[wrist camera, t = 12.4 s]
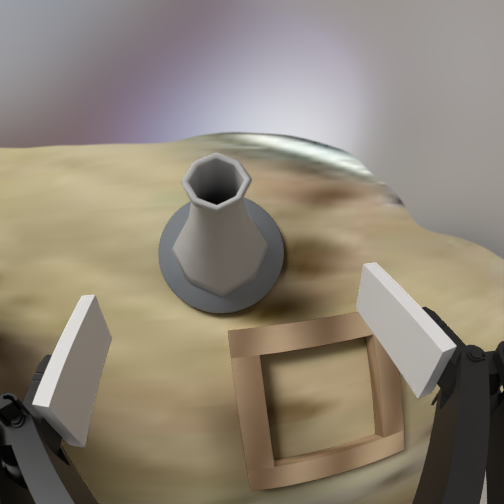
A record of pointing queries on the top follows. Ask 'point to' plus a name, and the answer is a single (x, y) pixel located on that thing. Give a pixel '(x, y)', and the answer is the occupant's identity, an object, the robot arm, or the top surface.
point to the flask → (218, 227)
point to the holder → (255, 412)
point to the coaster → (238, 297)
